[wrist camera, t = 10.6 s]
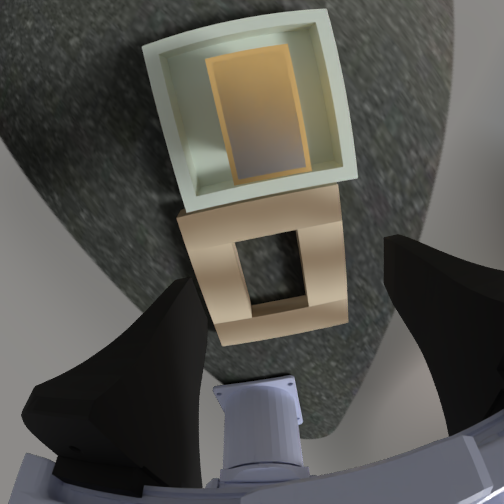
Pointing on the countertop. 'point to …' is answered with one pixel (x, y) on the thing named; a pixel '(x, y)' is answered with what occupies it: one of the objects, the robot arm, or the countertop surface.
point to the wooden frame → (262, 224)
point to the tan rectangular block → (259, 113)
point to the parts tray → (205, 113)
